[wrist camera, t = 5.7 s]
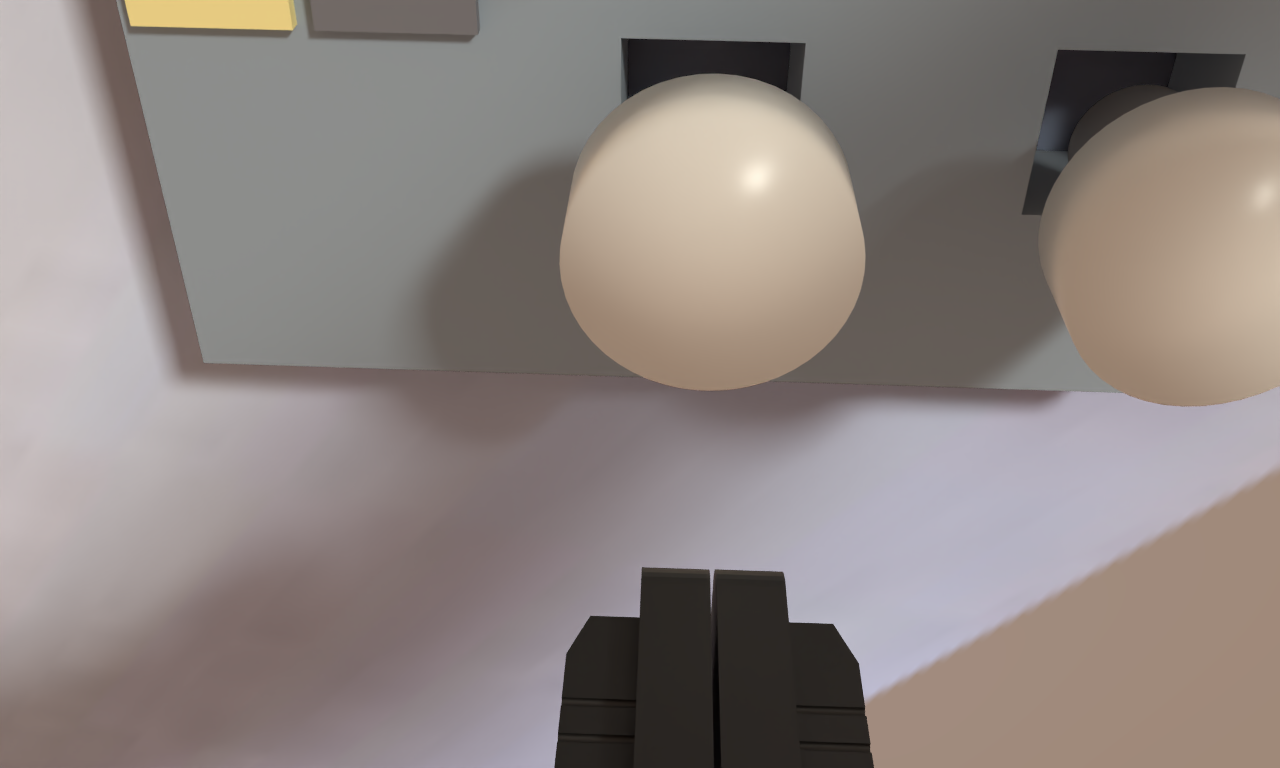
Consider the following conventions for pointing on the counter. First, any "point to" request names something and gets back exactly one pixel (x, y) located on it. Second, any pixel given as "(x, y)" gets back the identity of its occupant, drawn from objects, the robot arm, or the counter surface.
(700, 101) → the button
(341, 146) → the board
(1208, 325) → the button
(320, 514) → the counter surface
